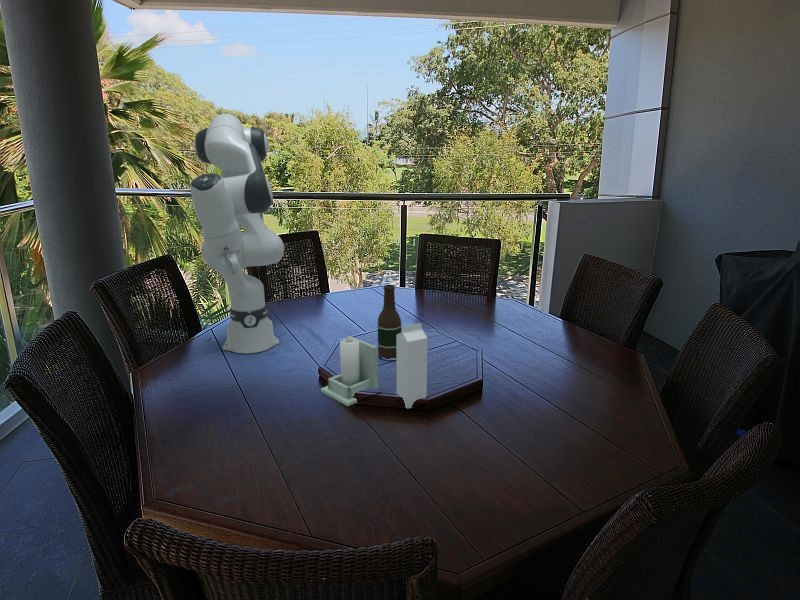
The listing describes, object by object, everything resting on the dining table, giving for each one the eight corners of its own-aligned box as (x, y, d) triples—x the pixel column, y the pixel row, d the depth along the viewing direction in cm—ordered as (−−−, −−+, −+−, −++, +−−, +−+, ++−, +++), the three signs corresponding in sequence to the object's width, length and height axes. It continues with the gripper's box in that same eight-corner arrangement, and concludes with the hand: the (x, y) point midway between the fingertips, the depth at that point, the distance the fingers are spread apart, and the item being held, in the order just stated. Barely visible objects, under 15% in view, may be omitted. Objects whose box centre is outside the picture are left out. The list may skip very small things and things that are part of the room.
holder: (320, 391, 151) (318, 345, 147) (354, 379, 159) (353, 334, 155) (347, 406, 142) (345, 357, 138) (381, 392, 150) (380, 345, 146)
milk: (426, 404, 144) (428, 326, 137) (407, 409, 141) (408, 330, 135) (414, 394, 149) (416, 319, 143) (395, 399, 146) (396, 323, 140)
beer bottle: (398, 362, 171) (398, 289, 164) (375, 360, 172) (374, 288, 165) (403, 353, 178) (403, 283, 171) (380, 351, 180) (380, 281, 173)
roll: (338, 387, 151) (336, 339, 147) (354, 383, 154) (353, 336, 150) (346, 394, 147) (344, 345, 143) (363, 389, 149) (362, 341, 146)
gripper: (242, 253, 125) (256, 304, 132) (233, 224, 141) (246, 271, 148) (214, 260, 123) (230, 311, 130) (209, 230, 140) (223, 277, 147)
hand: (239, 289), depth 139 cm, fingers open, 8 cm apart
